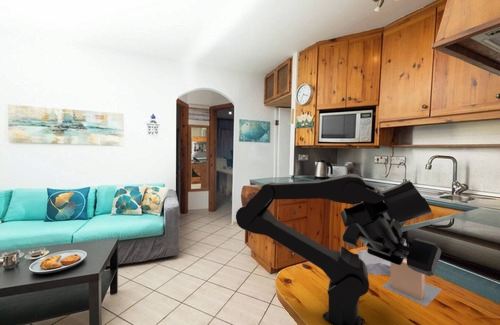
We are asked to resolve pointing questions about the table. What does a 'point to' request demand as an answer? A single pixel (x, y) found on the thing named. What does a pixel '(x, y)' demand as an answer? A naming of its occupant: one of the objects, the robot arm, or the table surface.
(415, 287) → the tile
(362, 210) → the robot arm
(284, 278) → the table surface
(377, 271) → the stone block
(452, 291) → the table surface
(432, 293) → the mat
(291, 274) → the table surface
